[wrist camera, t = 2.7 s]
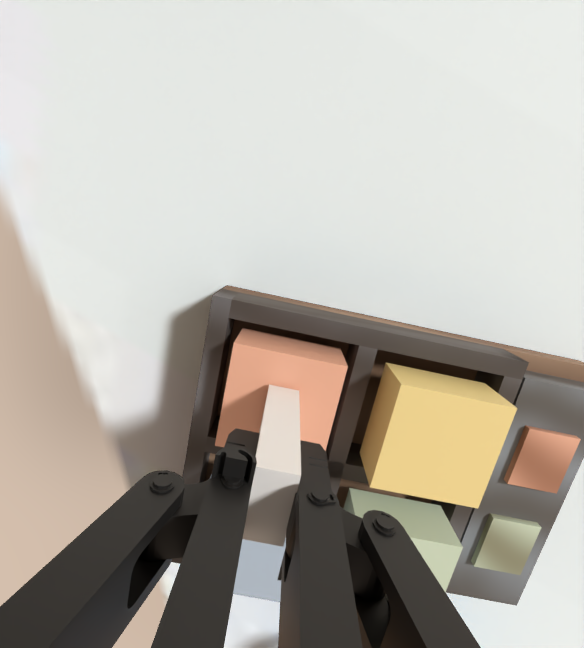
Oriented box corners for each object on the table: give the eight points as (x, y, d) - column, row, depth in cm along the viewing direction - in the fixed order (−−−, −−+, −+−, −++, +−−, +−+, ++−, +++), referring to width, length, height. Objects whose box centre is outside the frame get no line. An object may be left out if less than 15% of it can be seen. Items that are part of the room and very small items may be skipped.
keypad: (227, 285, 22) (212, 295, 19) (579, 360, 23) (635, 385, 19) (187, 513, 26) (168, 561, 22) (490, 570, 27) (523, 626, 23)
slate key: (215, 461, 21) (203, 497, 18) (309, 480, 21) (311, 518, 18) (201, 540, 22) (187, 585, 19) (289, 556, 23) (288, 603, 20)
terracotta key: (242, 327, 20) (233, 342, 17) (340, 348, 20) (347, 366, 17) (225, 417, 21) (214, 445, 19) (318, 435, 22) (321, 466, 19)
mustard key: (385, 362, 20) (401, 384, 17) (484, 383, 20) (517, 408, 17) (359, 452, 21) (369, 487, 18) (453, 471, 21) (478, 508, 18)
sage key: (349, 487, 21) (357, 527, 18) (440, 505, 22) (463, 547, 19) (327, 563, 23) (331, 611, 20) (413, 579, 23) (430, 629, 20)
